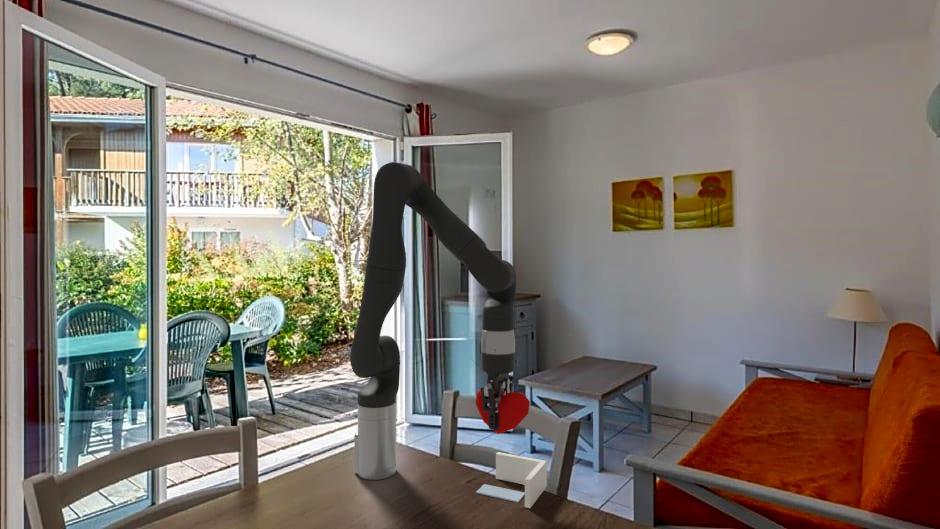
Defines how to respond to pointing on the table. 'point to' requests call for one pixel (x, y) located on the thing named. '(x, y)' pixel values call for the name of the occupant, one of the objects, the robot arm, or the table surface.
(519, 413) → the heart
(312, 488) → the table surface
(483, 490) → the pad
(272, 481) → the table surface
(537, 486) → the corner walls
